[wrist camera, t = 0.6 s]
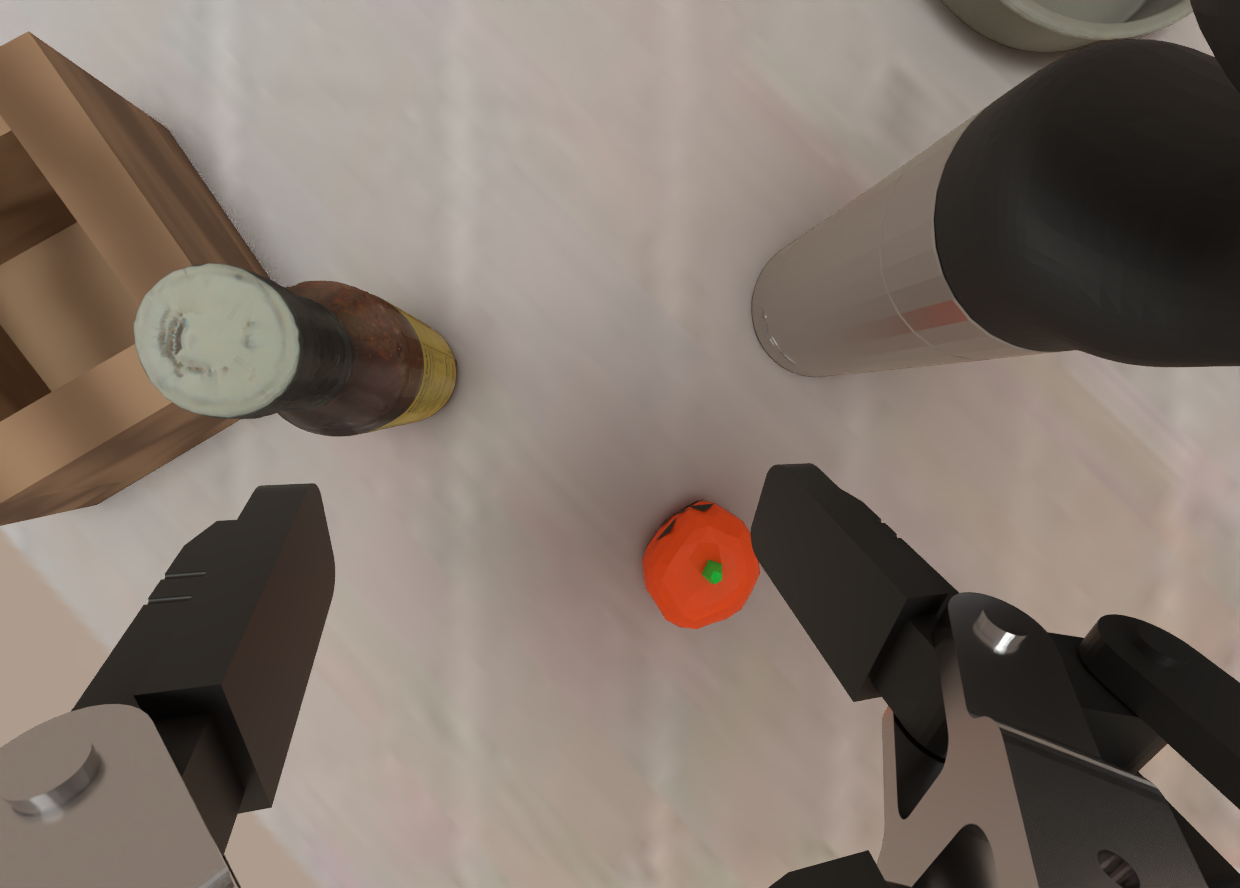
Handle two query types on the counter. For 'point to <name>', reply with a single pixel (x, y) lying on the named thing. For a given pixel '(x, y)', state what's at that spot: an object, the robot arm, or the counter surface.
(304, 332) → the sauce bottle
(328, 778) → the counter surface
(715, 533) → the pumpkin
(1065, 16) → the cake pan
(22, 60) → the bottle block
